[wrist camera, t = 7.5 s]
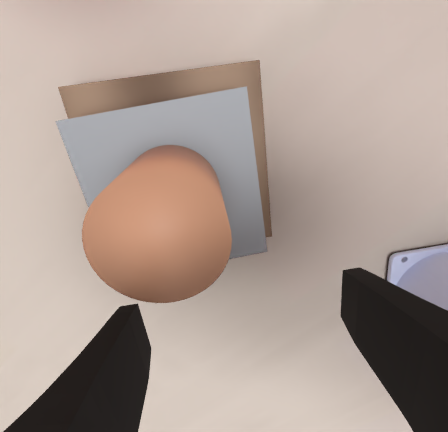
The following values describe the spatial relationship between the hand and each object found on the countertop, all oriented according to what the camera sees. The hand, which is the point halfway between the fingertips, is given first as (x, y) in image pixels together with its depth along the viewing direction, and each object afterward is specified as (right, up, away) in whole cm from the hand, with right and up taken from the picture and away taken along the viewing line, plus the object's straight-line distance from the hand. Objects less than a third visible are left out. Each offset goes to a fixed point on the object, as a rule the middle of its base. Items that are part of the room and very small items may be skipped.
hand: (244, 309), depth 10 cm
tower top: (-3, +5, +6) cm, 9 cm away
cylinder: (-3, +4, +3) cm, 6 cm away
